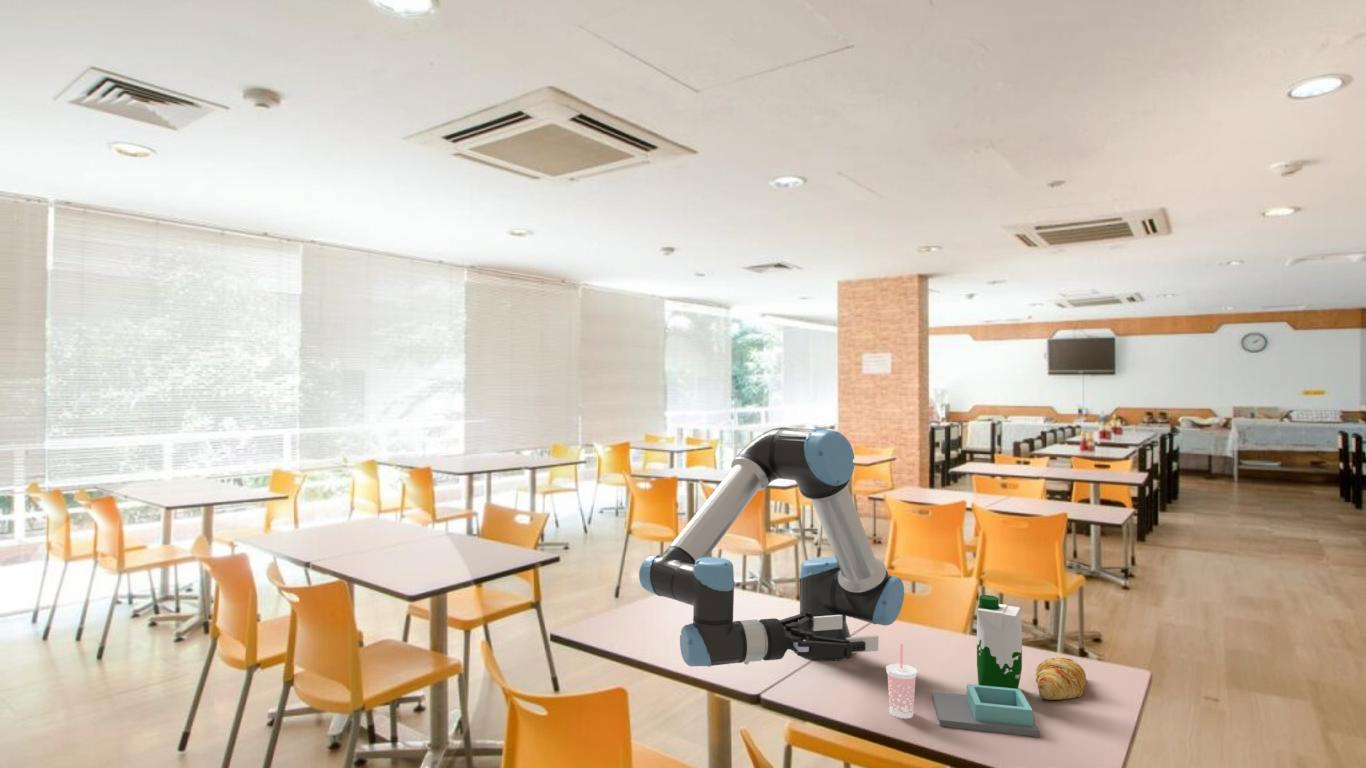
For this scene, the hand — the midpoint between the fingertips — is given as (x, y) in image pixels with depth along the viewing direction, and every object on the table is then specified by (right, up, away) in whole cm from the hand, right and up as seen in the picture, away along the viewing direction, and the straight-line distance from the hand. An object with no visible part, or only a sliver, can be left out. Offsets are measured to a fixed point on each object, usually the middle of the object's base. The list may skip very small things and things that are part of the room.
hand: (858, 631), depth 143 cm
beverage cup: (+9, -18, +3) cm, 20 cm away
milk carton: (+35, -18, +15) cm, 42 cm away
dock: (+26, -18, +2) cm, 31 cm away
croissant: (+49, -19, +16) cm, 55 cm away
